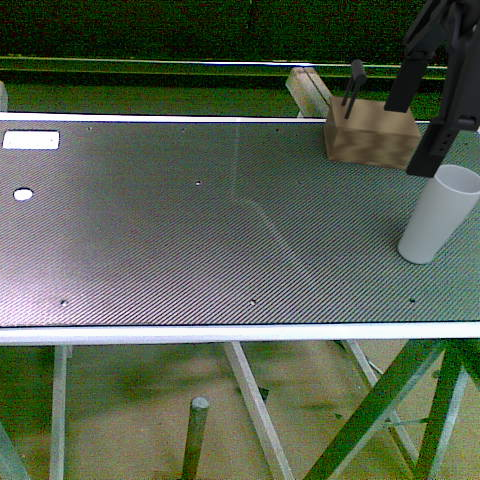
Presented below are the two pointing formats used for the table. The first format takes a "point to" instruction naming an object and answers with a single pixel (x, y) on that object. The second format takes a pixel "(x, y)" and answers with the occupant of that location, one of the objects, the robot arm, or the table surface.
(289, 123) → the table surface
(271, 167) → the table surface
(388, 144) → the chest
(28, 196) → the table surface
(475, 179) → the drinking glass
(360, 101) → the chest lid
